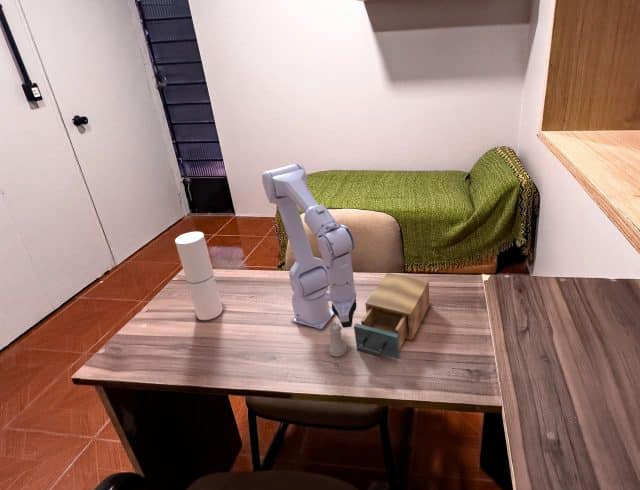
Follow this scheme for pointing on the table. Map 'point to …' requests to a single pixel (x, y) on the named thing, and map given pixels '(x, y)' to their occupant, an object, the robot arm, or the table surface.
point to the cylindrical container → (199, 275)
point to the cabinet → (402, 298)
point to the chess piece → (336, 340)
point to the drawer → (381, 333)
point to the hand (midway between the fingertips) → (347, 325)
